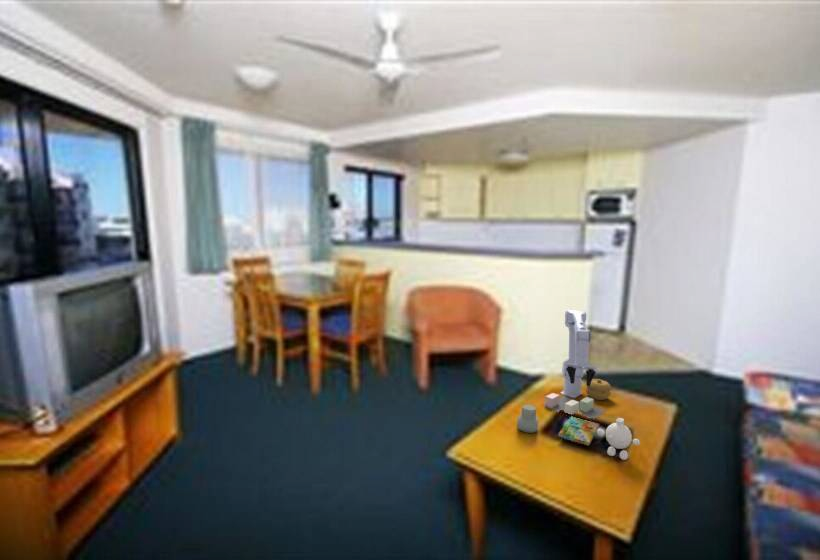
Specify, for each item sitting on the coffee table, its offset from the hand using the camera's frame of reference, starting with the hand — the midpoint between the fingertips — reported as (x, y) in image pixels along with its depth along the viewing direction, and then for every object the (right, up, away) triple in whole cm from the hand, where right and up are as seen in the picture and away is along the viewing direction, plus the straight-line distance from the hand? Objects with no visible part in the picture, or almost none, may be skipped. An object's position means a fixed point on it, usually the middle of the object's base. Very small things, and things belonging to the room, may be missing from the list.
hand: (580, 384), depth 199 cm
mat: (0, -13, +6) cm, 15 cm away
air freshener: (-29, -16, -16) cm, 36 cm away
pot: (+17, -12, +21) cm, 30 cm away
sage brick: (+5, -13, +6) cm, 15 cm away
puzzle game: (-9, -17, -20) cm, 28 cm away
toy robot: (+1, -19, -33) cm, 38 cm away
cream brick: (-3, -13, +2) cm, 14 cm away
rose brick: (-10, -12, +9) cm, 18 cm away
